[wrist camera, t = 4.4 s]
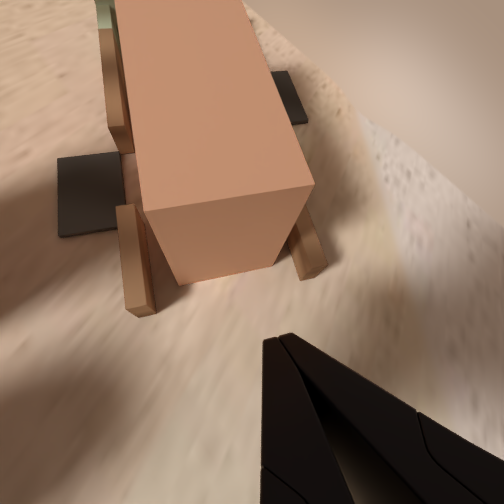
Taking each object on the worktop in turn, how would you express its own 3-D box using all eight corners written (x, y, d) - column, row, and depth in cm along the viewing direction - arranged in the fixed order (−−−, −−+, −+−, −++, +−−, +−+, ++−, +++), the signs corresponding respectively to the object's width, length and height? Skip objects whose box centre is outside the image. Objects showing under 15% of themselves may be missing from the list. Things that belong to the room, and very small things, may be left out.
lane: (368, 265, 19) (393, 248, 16) (62, 335, 15) (28, 327, 13) (266, 25, 28) (271, -12, 25) (57, 33, 24) (36, -10, 22)
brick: (271, 266, 18) (315, 184, 10) (179, 286, 17) (143, 211, 9) (222, 102, 24) (224, -41, 15) (148, 108, 22) (108, -43, 14)
